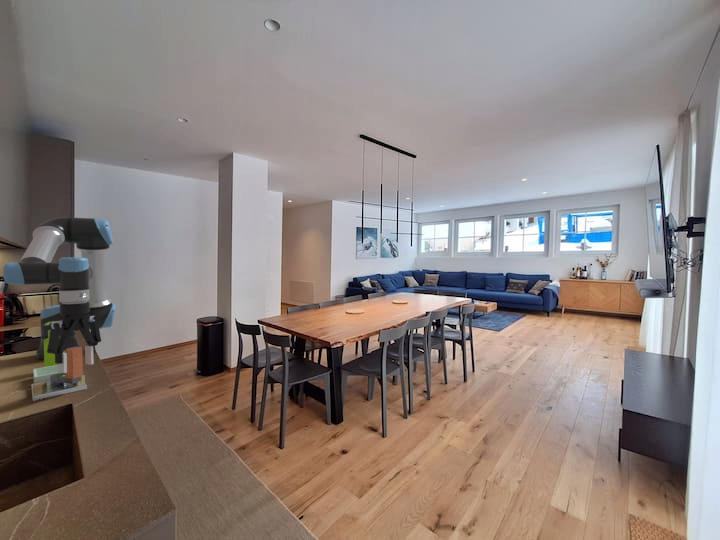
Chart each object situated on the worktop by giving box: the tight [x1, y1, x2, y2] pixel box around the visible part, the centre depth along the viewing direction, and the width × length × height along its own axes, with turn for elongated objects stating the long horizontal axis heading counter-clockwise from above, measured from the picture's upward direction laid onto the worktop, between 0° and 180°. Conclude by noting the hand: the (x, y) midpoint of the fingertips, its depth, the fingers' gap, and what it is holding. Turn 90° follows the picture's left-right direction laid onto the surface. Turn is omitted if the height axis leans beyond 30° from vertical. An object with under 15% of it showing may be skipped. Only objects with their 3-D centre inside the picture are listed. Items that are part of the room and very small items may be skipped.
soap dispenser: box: [43, 321, 65, 367], centre depth 123 cm, size 6×7×20 cm
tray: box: [32, 365, 58, 384], centre depth 117 cm, size 12×12×4 cm
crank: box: [50, 346, 84, 386], centre depth 107 cm, size 11×4×13 cm, turn 78°
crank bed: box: [31, 374, 88, 402], centre depth 107 cm, size 14×13×4 cm
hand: (76, 367), depth 106 cm, fingers open, 8 cm apart
